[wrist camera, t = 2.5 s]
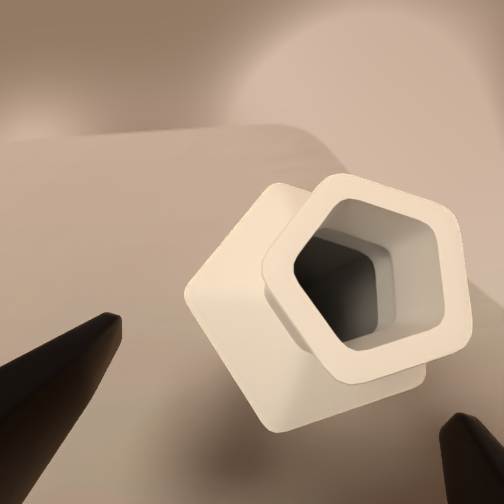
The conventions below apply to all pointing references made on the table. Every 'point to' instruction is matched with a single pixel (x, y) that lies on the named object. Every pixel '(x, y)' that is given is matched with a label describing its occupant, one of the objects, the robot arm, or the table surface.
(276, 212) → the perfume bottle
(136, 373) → the table surface
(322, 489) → the table surface
